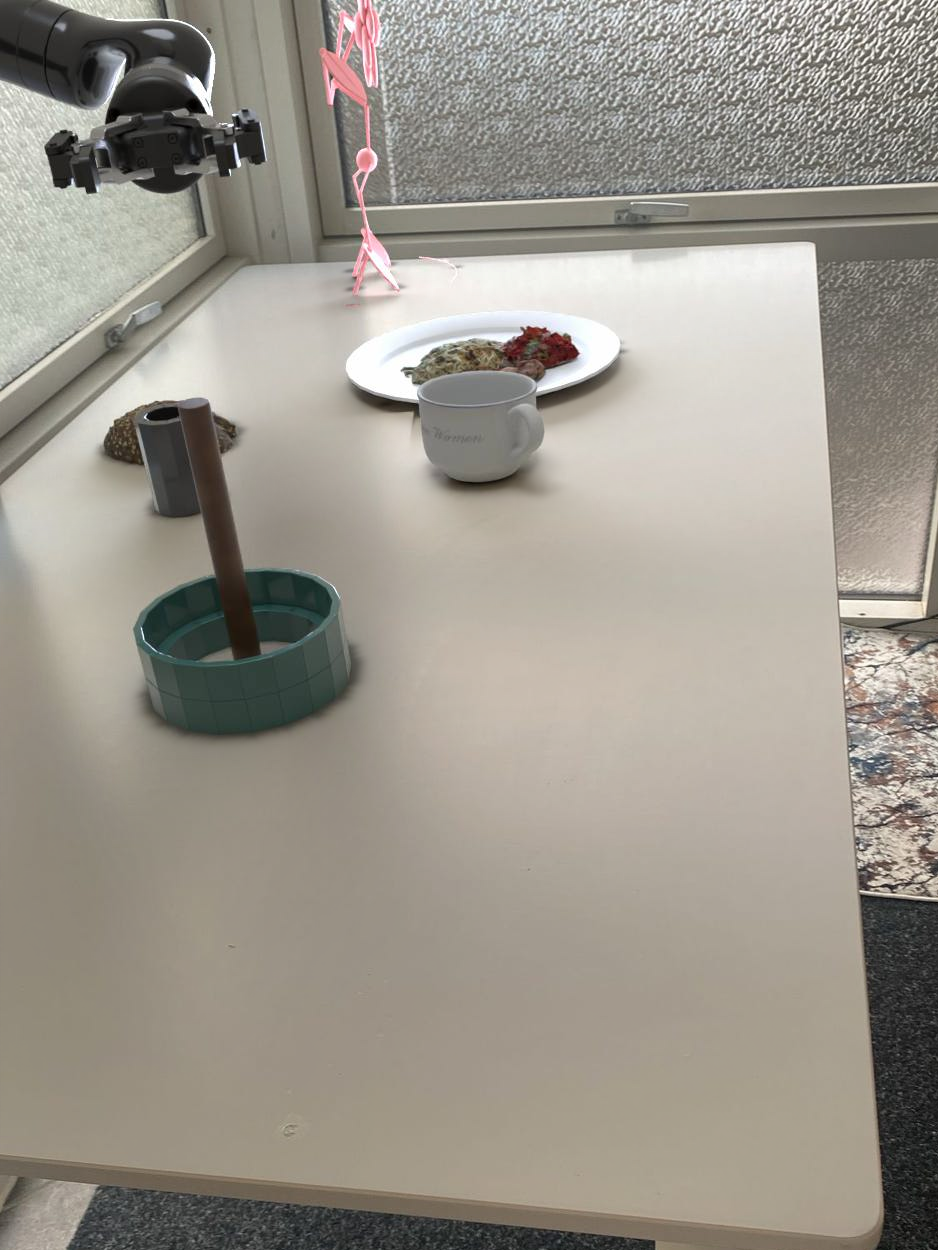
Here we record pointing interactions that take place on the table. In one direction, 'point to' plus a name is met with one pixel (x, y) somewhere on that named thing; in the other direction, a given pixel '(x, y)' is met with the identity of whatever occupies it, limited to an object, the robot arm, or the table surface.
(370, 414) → the table surface
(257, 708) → the ring
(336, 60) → the figurine
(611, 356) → the plated food
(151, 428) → the holder
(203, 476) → the stick
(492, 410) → the teacup
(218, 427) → the bread roll
